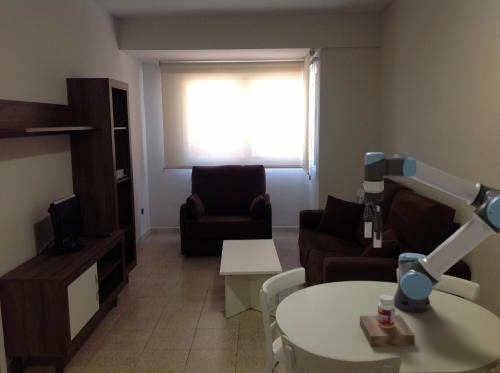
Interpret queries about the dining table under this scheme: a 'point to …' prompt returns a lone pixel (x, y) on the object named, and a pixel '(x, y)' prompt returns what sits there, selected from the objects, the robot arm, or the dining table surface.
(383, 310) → the pill bottle
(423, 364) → the dining table surface
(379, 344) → the walnut block
